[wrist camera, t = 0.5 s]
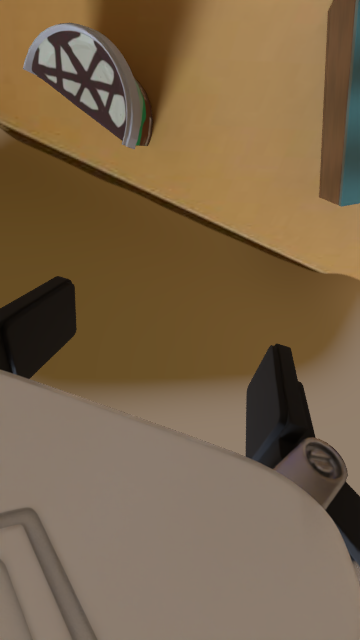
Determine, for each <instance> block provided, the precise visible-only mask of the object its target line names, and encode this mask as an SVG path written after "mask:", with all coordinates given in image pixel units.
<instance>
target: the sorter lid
mask: <svg viewBox="0 0 360 640" xmlns="http://www.w3.org/2000/svg"><path fill="white" fill-rule="evenodd" d="M358 203H360V0H356V2H355V14H354V27H353V39H352V51H351V63H350V75H349V87H348V99H347V111H346V123H345V135H344V147H343V159H342V172H341V184H340V196H339V206H347V205H352V204H358Z"/></svg>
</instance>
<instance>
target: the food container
mask: <svg viewBox="0 0 360 640" xmlns="http://www.w3.org/2000/svg"><path fill="white" fill-rule="evenodd" d="M23 69H24V70H27V71H29V72H31V73H33V74H35V75H37V76H38V77H39V78H41V79H43V80H44V81H45V82H47V83H48V84H49V85H51V86H52V87H53V88H54V89H56V90H57V91H58V92H60V93H61V94H62V95H63V96H65V97H66V98H67V99H68V100H70V101H71V102H72V103H73V104H75V105H76V106H77V107H78V108H80V109H81V110H82V111H84V112H85V113H87V114H88V115H89V116H91V117H92V118H93V119H95V120H96V121H97V122H99V123H100V124H101V125H102V126H104V127H105V128H106V129H108V130H109V131H110V132H112V133H113V134H114V135H116V136H117V137H118V138H120V139H121V140H122V145H126V146H127V147H130V148H132V149H135V146H136V145H137V146H148V144H149V141H150V138H151V134H152V125H153V119H152V110H151V105H150V102H149V100H148V97H147V94H146V92H145V91H144V89H143V88H142V86H141V85H140V84H139V82H138V81H137V80H136V79H135V78H134V77H133V75H132V72H131V70H130V67H129V65H128V64H127V62H126V60H125V58H124V57H123V55H122V54H121V52H120V51H119V50H118V48H117V47H116V46H115V45H114V44H113V43H112V42H111V41H110V40H109V39H108V38H107V37H106V36H104V35H103V34H101V33H100V32H98V31H96V30H94V29H91V28H89V27H86V26H83V25H79V24H74V23H62V24H58V25H55V26H52V27H49V28H47V29H46V30H44V31H43V32H42V33H40V34H39V36H38V37H37V38H36V39H35V40H34V42H33V43H32V45H31V47H30V48H29V51H28V53H27V56H26V59H25V63H24V68H23Z"/></svg>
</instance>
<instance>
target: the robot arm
mask: <svg viewBox="0 0 360 640" xmlns="http://www.w3.org/2000/svg"><path fill="white" fill-rule="evenodd" d="M75 311H76V310H75V287H74V285H73V284H72V282H71V280H69V279H66V278H63V277H59V276H57V277H55V278H53V279H51V280H49V281H48V282H46V283H44V284H42V285H41V286H39V287H37V288H35V289H34V290H32V291H30V292H28V293H27V294H25V295H23V296H21V297H20V298H18V299H16V300H14V301H13V302H11V303H9V304H8V305H6V306H4V307H2V308H0V640H360V496H359V495H358V494H356V492H355V491H354V490H353V489H352V488H351V487H350V486H349V485H348V484H347V483H346V479H347V476H348V474H347V468H346V465H345V463H344V461H343V459H342V458H341V456H340V455H339V453H338V452H337V451H336V450H335V449H334V448H333V447H331V446H330V445H329V444H328V443H326V442H324V441H322V440H320V439H317V438H315V434H314V430H313V426H312V421H311V417H310V413H309V409H308V405H307V400H306V396H305V392H304V388H303V385H302V383H301V382H298V379H297V375H296V370H295V366H294V361H293V357H292V352H291V348H289V347H287V346H283V345H280V344H276V345H275V346H272V345H271V346H270V347H269V349H268V351H267V352H266V354H265V356H264V358H263V360H262V362H261V364H260V365H259V367H258V369H257V371H256V373H255V375H254V377H253V378H252V380H251V382H250V384H249V386H248V389H247V405H246V406H247V407H246V409H247V410H246V457H245V456H243V455H240V454H238V453H235V452H233V451H230V450H227V449H225V448H222V447H219V446H216V445H214V444H211V443H209V442H206V441H203V440H201V439H198V438H195V437H192V436H190V435H186V434H184V433H181V432H178V431H176V430H173V429H170V428H167V427H164V426H162V425H159V424H156V423H153V422H150V421H147V420H145V419H142V418H139V417H136V416H133V415H131V414H128V413H125V412H122V411H119V410H116V409H113V408H111V407H108V406H105V405H102V404H99V403H96V402H94V401H90V400H88V399H85V398H82V397H79V396H76V395H74V394H71V393H68V392H65V391H62V390H59V389H56V388H53V387H50V386H47V385H45V384H41V383H39V382H36V381H33V380H30V378H31V377H32V376H33V375H34V374H35V373H36V372H37V371H38V370H39V369H40V368H41V367H42V366H43V365H44V364H45V363H46V362H47V361H48V360H49V359H50V358H51V357H52V356H53V355H54V354H56V353H57V352H58V351H59V350H60V349H61V348H62V347H63V346H64V345H65V344H66V343H67V342H68V341H69V340H70V339H71V338H72V337H73V336H74V335H75V333H76V312H75Z"/></svg>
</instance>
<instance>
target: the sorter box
mask: <svg viewBox="0 0 360 640" xmlns="http://www.w3.org/2000/svg"><path fill="white" fill-rule="evenodd" d="M355 2H356V0H334V1H333V3H332V5H331V7H330V8H329V10H328V24H327V45H326V66H325V87H324V108H323V129H322V149H321V170H320V191H319V197H320V198H322V199H325V200H327V201H330V202H332V203H334V204H337V205H339V196H340V184H341V172H342V159H343V147H344V135H345V123H346V111H347V99H348V87H349V75H350V63H351V51H352V39H353V27H354V14H355Z"/></svg>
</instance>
